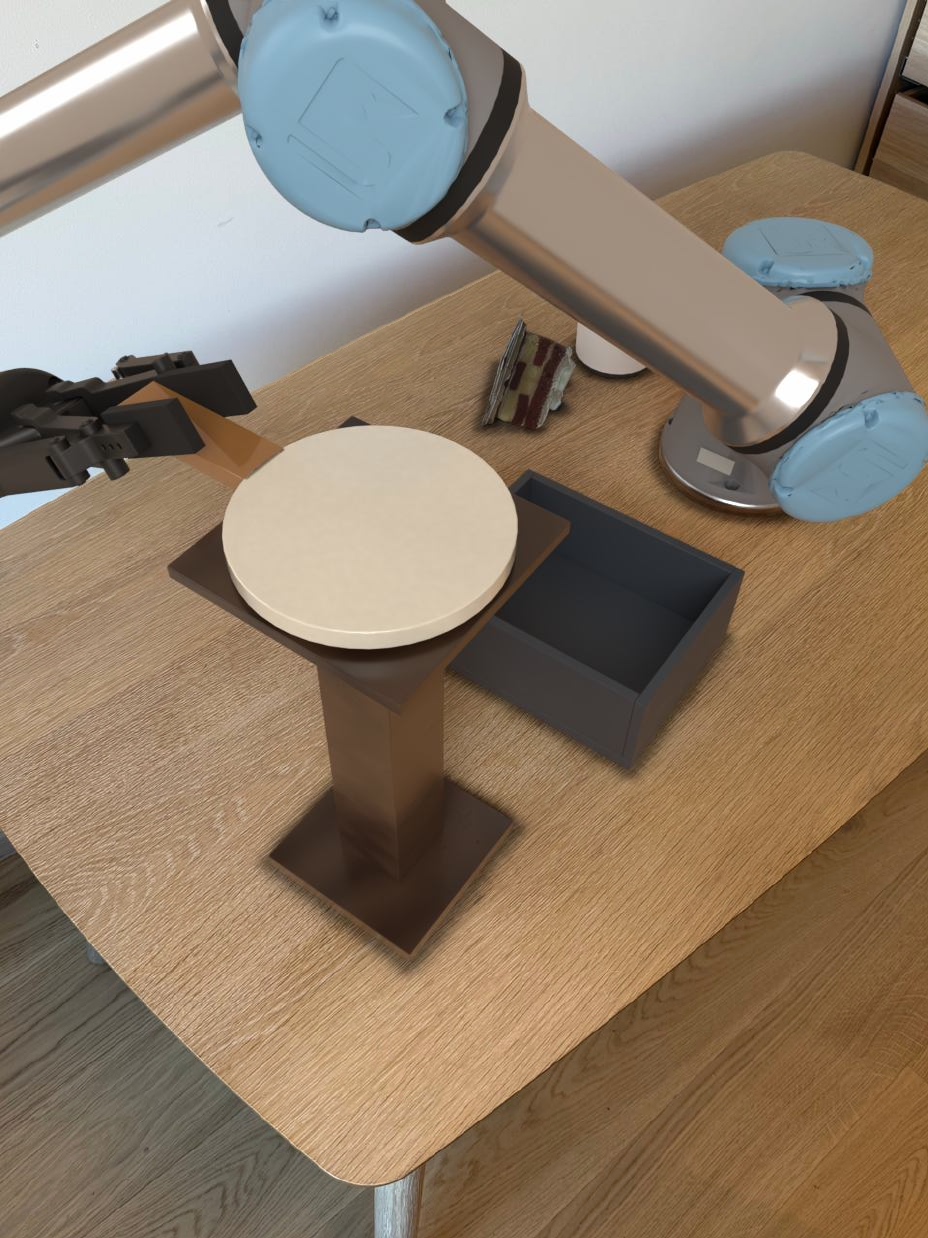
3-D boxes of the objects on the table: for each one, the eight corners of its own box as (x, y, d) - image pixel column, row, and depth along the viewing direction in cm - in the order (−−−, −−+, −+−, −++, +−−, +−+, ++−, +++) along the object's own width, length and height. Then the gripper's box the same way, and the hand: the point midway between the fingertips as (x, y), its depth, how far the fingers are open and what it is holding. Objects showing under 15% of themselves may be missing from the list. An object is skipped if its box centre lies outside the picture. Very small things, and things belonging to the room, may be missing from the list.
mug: (654, 386, 110) (670, 296, 102) (566, 375, 111) (576, 286, 103) (660, 324, 117) (676, 235, 109) (578, 314, 118) (587, 226, 110)
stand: (249, 867, 75) (166, 566, 52) (376, 730, 83) (352, 414, 60) (413, 984, 70) (400, 706, 47) (532, 826, 77) (571, 521, 55)
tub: (415, 649, 88) (413, 581, 82) (522, 536, 96) (528, 467, 90) (629, 771, 81) (644, 707, 74) (724, 638, 89) (745, 571, 83)
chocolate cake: (551, 452, 104) (597, 330, 103) (481, 425, 103) (527, 302, 102) (538, 453, 113) (580, 342, 112) (474, 428, 113) (516, 316, 111)
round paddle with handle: (35, 483, 55) (28, 465, 54) (228, 348, 63) (225, 330, 62) (398, 701, 47) (398, 684, 46) (571, 515, 54) (573, 497, 53)
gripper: (134, 418, 77) (350, 391, 60) (-59, 553, 68) (133, 563, 52) (73, 319, 73) (286, 262, 57) (-138, 448, 64) (41, 424, 48)
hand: (212, 406), depth 54 cm, fingers closed on round paddle with handle, 3 cm apart
